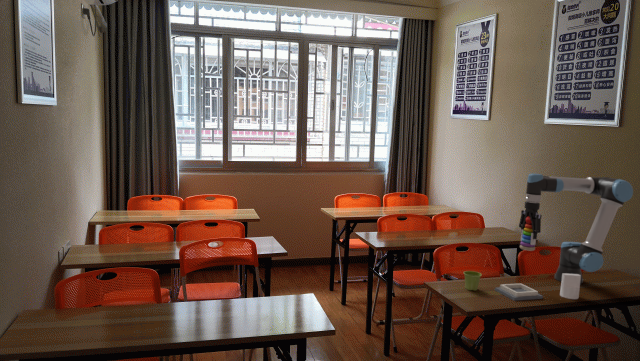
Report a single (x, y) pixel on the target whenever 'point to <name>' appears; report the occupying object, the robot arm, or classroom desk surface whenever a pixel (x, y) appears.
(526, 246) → the stacking toy
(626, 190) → the robot arm
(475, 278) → the plant pot
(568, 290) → the cylinder with rectangular tab
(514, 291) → the board
